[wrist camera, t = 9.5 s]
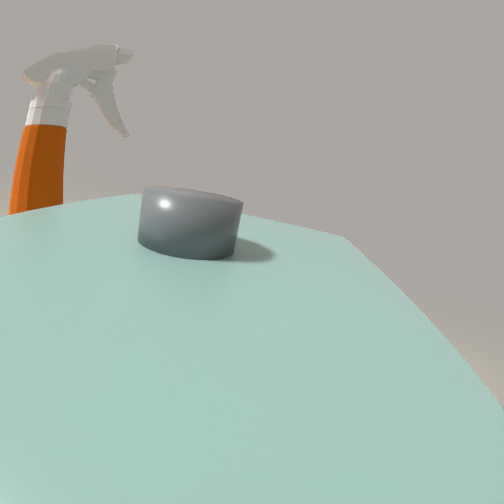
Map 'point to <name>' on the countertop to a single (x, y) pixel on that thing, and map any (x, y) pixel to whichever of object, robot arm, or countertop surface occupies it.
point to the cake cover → (224, 365)
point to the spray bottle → (60, 119)
